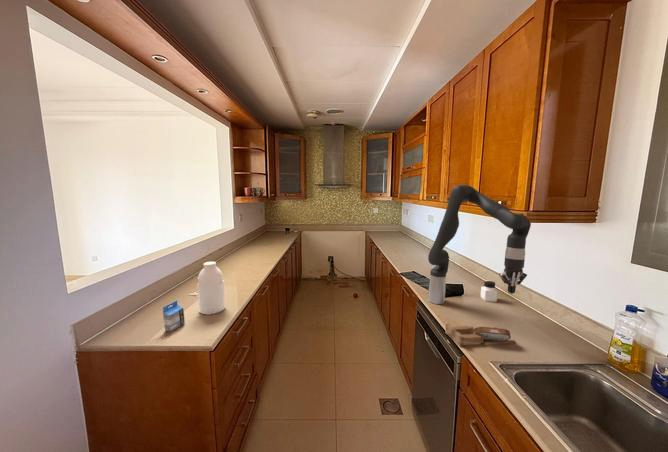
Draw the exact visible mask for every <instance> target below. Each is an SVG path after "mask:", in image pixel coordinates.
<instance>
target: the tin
mask: <svg viewBox="0 0 668 452" xmlns="http://www.w3.org/2000/svg"><path fill="white" fill-rule="evenodd" d="M473 329H474V330H473V334H481V335H484V340H488V341H507V340H509V339H511V338H512V337H511V332H510V330H508V329H505V328H499V327H496V328H495V327H490V326H477V327H475V328H473Z"/></svg>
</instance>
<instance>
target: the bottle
mask: <svg viewBox="0 0 668 452" xmlns="http://www.w3.org/2000/svg"><path fill="white" fill-rule="evenodd" d="M202 266H203V268H202V269H201V270H200V271H199V273H198V276H197V280H198V283H197V286H196V287H197V295H198V311H199V313H200V314H201V315H213V314H218V313H220V312H222V311H223V310H225V308H226V296H225V294H226V293H225V280H224V279H223V276H224V274H223V272H222V271H221V269H220V268H219V267H218V266H217V262H216V261H206V262H204V263H203V264H202Z"/></svg>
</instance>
